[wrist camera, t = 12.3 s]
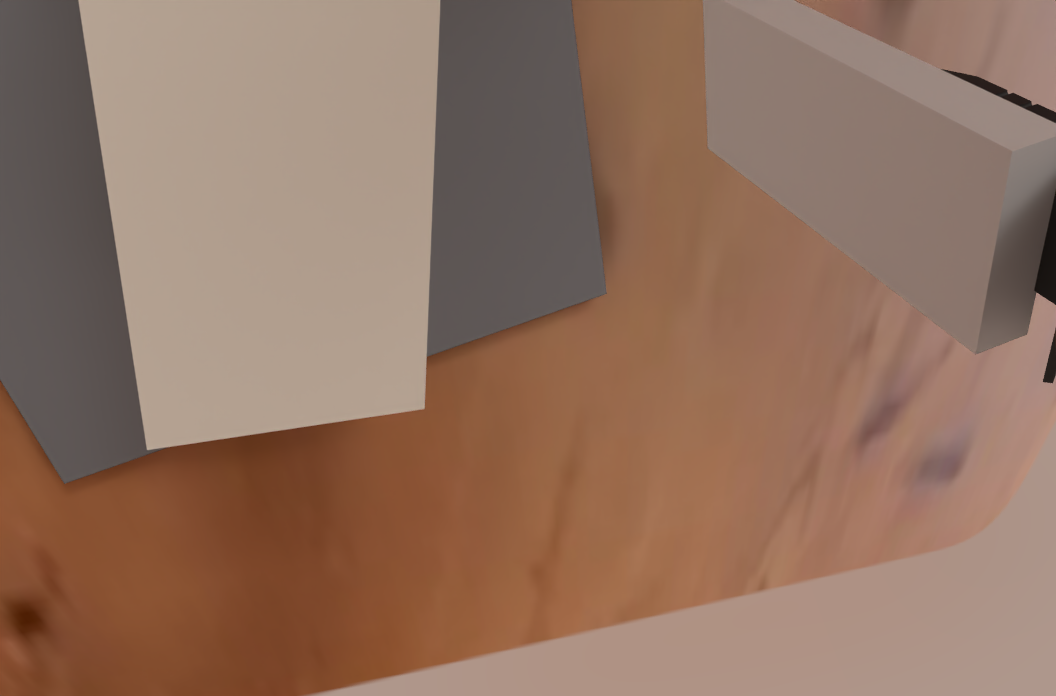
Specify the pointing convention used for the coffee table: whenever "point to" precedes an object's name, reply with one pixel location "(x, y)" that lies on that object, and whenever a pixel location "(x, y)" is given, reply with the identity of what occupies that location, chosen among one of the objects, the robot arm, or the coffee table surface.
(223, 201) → the cream block
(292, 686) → the coffee table surface
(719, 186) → the coffee table surface
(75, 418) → the rubber mat
